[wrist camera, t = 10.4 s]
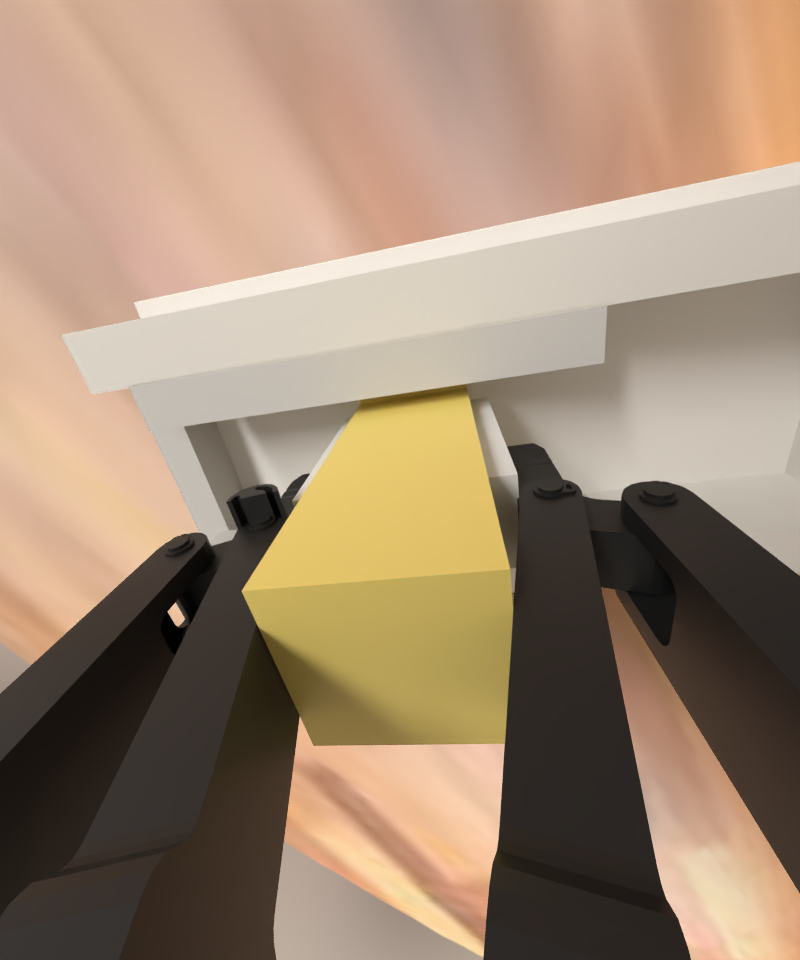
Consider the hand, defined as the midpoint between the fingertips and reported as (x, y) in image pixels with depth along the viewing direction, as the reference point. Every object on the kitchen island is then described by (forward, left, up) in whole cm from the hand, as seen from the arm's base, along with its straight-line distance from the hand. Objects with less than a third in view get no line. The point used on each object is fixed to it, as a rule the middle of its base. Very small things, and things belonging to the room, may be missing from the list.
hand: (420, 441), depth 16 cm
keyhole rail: (0, +2, -3) cm, 4 cm away
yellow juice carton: (0, 0, -2) cm, 2 cm away
